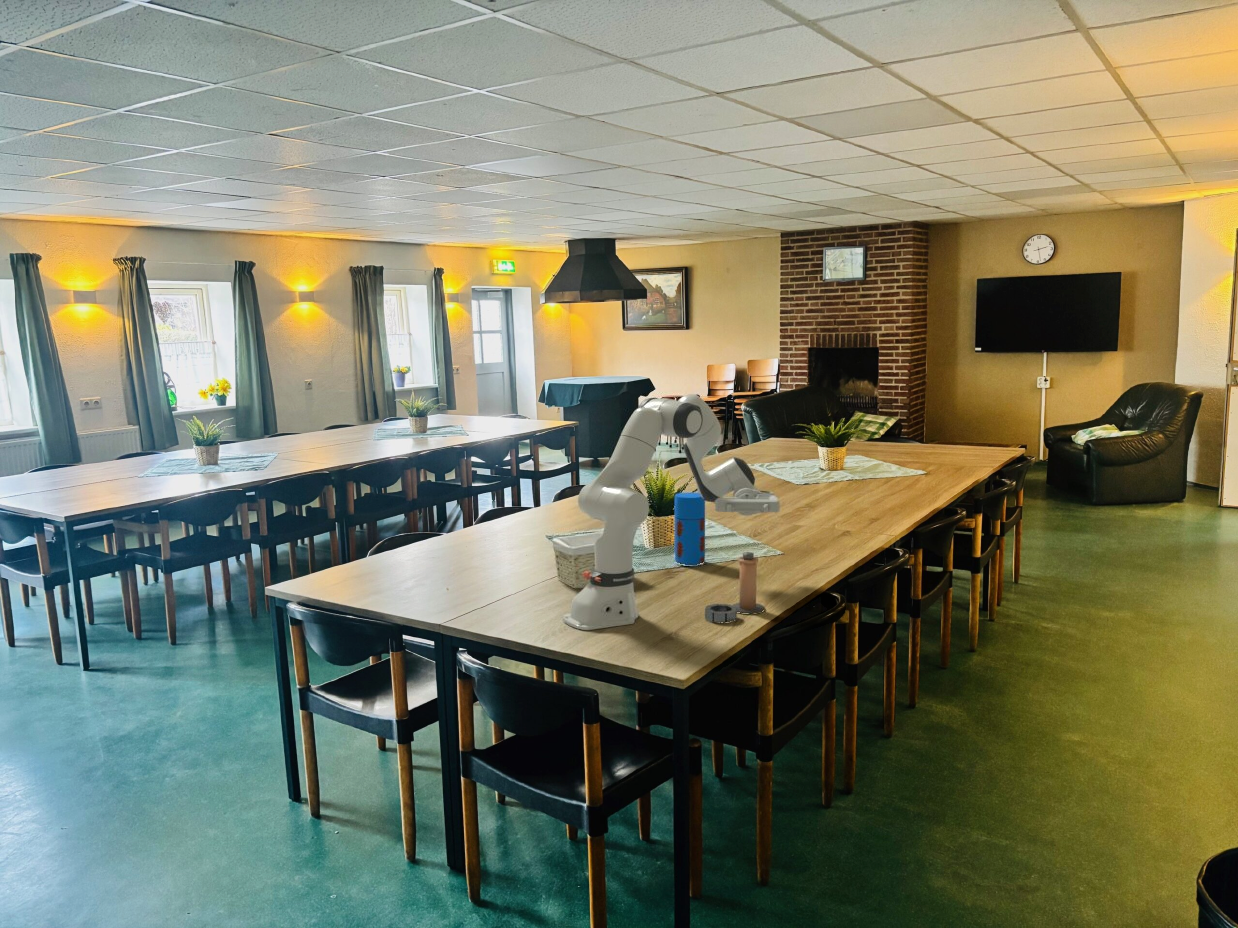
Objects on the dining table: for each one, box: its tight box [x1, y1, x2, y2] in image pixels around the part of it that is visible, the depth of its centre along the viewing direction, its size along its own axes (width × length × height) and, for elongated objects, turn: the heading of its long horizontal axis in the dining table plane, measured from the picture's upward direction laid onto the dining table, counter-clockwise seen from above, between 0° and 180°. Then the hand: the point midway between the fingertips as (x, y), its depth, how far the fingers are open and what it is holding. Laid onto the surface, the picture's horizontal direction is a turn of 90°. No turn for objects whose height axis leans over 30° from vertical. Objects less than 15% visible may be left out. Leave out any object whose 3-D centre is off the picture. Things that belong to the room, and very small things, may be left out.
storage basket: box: [551, 530, 604, 589], centre depth 297 cm, size 24×16×15 cm
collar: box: [704, 603, 738, 624], centre depth 255 cm, size 9×9×3 cm
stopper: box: [737, 551, 759, 610], centre depth 262 cm, size 6×6×17 cm
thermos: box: [674, 492, 706, 565], centre depth 316 cm, size 11×11×25 cm
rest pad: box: [731, 602, 766, 614], centre depth 264 cm, size 10×10×1 cm
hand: (747, 509), depth 272 cm, fingers open, 8 cm apart
